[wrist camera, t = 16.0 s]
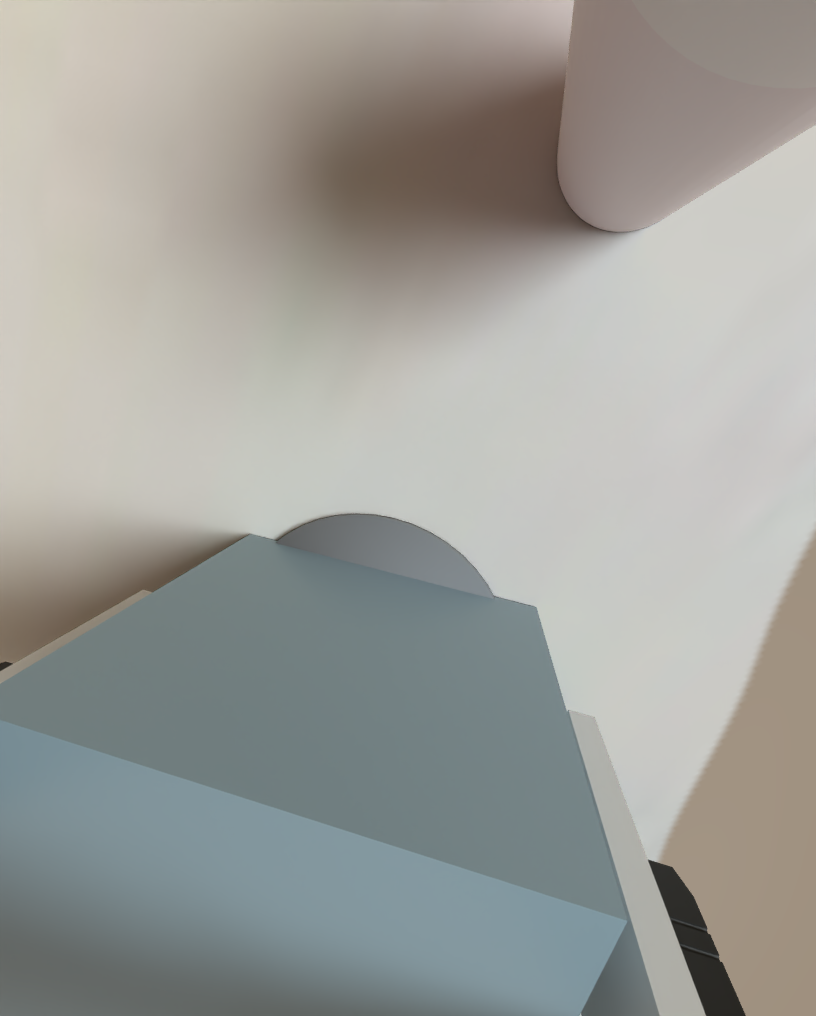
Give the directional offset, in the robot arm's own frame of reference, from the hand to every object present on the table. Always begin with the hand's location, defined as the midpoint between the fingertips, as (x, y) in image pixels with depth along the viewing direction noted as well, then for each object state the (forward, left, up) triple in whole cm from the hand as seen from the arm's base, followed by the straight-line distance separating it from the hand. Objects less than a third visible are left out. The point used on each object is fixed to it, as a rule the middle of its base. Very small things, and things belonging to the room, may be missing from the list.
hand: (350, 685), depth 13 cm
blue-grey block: (0, -2, -2) cm, 3 cm away
